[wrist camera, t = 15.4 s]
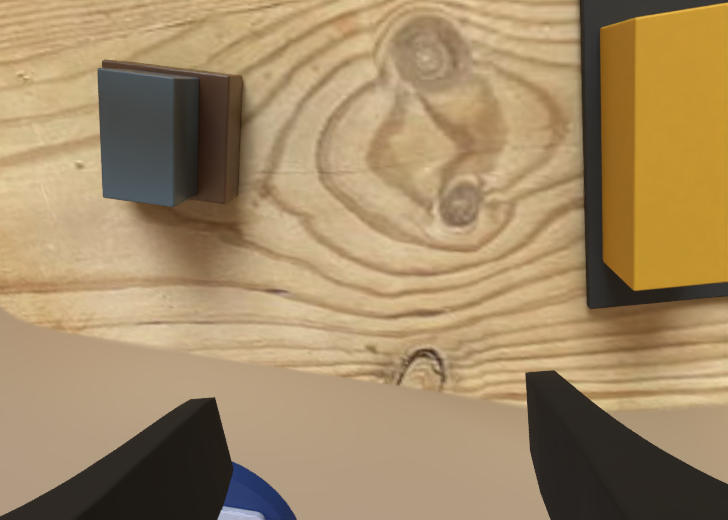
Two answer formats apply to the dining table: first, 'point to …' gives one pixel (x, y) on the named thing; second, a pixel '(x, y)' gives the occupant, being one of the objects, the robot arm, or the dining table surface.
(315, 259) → the dining table surface
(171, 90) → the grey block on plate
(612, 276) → the mat
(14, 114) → the dining table surface
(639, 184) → the bar
